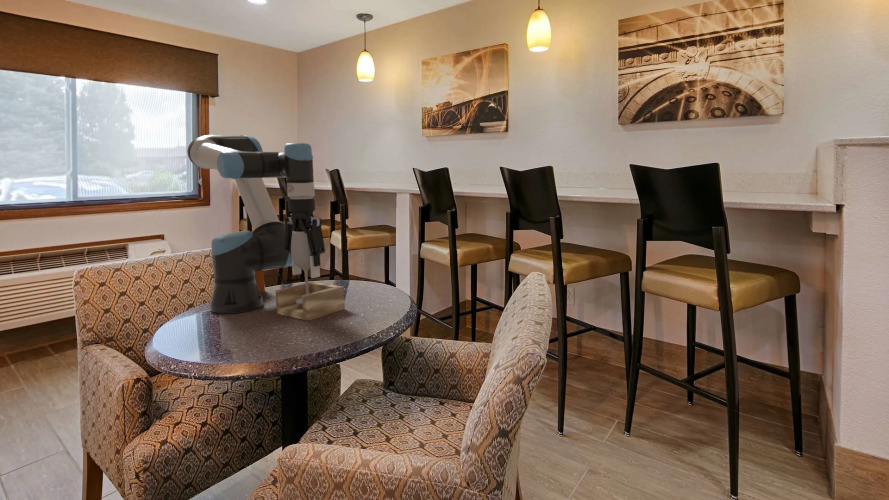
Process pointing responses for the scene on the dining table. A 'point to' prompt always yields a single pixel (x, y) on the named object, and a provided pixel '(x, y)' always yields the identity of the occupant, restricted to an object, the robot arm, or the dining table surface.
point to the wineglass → (301, 255)
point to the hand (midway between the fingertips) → (306, 275)
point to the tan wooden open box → (310, 300)
